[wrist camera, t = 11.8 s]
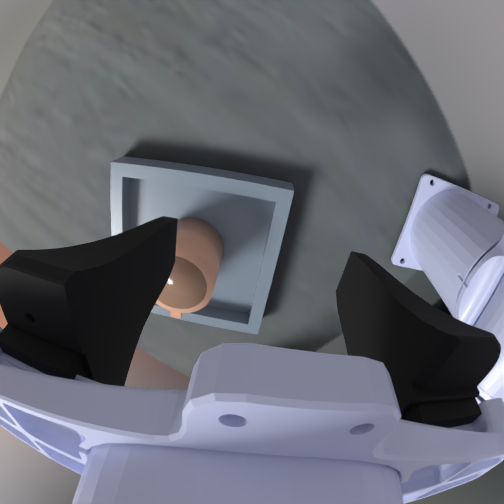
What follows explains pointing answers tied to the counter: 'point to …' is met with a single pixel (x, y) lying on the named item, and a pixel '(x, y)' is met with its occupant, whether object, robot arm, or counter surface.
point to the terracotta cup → (193, 268)
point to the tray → (221, 218)
